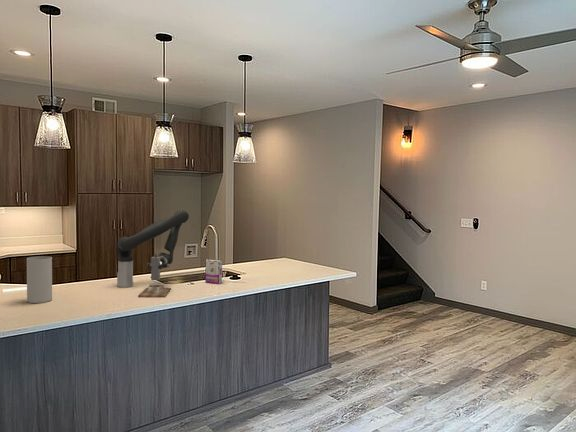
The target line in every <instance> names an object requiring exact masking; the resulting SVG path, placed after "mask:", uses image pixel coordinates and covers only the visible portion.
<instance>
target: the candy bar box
mask: <svg viewBox="0 0 576 432" xmlns="http://www.w3.org/2000/svg"><path fill="white" fill-rule="evenodd" d="M222 283H223V260H219V259H206V260H205V284H212V285H213V284H214V285H220V284H222Z"/></svg>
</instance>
